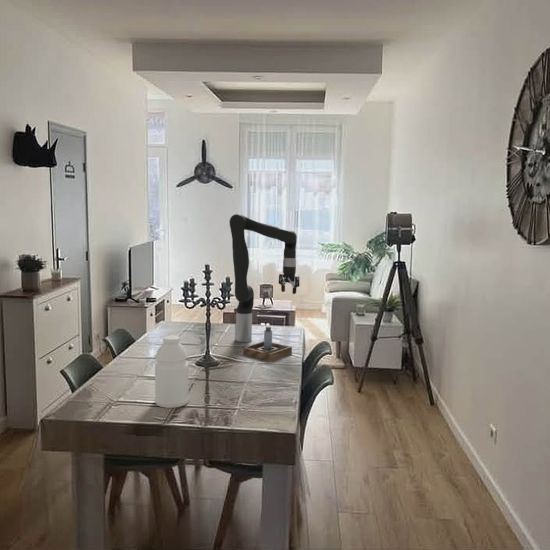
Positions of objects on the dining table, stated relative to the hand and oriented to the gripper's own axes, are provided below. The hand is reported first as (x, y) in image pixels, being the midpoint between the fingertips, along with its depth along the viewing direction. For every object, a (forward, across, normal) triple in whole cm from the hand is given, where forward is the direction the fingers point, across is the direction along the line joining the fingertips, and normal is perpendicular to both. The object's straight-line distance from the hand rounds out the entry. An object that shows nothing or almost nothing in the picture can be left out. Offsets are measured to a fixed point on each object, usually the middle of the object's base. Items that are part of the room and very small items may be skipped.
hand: (288, 292), depth 317 cm
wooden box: (+30, +8, -25) cm, 40 cm away
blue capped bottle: (+29, +8, -25) cm, 39 cm away
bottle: (+30, +28, -104) cm, 112 cm away
